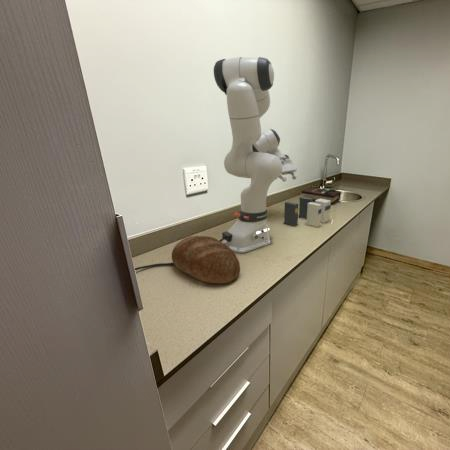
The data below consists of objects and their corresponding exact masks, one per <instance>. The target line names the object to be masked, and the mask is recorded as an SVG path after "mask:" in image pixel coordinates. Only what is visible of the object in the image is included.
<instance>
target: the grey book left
mask: <svg viewBox="0 0 450 450" xmlns="http://www.w3.org/2000/svg"><path fill="white" fill-rule="evenodd" d="M283 215H284V218H283V224H285V225H289V226H292V227H296V226H298V223H299V202H292V201H285V202H284V213H283Z"/></svg>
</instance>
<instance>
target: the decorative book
mask: <svg viewBox="0 0 450 450" xmlns="http://www.w3.org/2000/svg"><path fill="white" fill-rule="evenodd" d="M341 194H342V191H340V190H337V189H325V188H319V187H314V186H313V187H312V186H311V187H310V186H309V187H308V188H305V189H303V190H301V196H302V197H307V198H313V201H312V202H313V203H315V200H318V199H325V200H330V201H331V206H334V205H335V204H336V203H339V202H340V201H341V199H342V197H341Z"/></svg>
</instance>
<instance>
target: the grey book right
mask: <svg viewBox="0 0 450 450" xmlns="http://www.w3.org/2000/svg"><path fill="white" fill-rule="evenodd" d="M312 201H313V198H307V197H303V196H300V197H299V202H298V208H299V210H298V218H302V219H306V220H307V206H308V203H310V202H312ZM312 203H314V202H312Z"/></svg>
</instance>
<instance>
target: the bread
mask: <svg viewBox="0 0 450 450" xmlns="http://www.w3.org/2000/svg"><path fill="white" fill-rule="evenodd" d="M222 242H223V241H221V242H220V240H218V239H217V238H215V237H211V236H207V235H206V236H205V235H193V236H188V237H185V238H183V239H182V240H180V241H179V242H178V243H177V244H175V246H174V247H173V249H172V251H171V261H172V263H174V265H173V266H175V267H176V268H177V269H178V270H180V271H181V272H183V273H185V274H187V275H189V276H191V277H192V278H195V279H196V280H198V281H200V282H203V283H208V284H227V283H228V284H229V283H232V282H233V281H234V280H235V279H236V278H238V276H239V274H240V272H241V263H240V261H239V258H238V256H237V255H236V252H233V251H232V250H231V249H230V248H229V247H228V246H227V245H226V244H224V243H222Z"/></svg>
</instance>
